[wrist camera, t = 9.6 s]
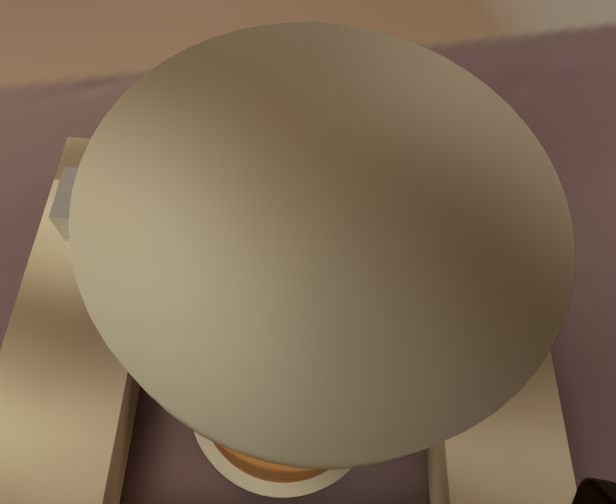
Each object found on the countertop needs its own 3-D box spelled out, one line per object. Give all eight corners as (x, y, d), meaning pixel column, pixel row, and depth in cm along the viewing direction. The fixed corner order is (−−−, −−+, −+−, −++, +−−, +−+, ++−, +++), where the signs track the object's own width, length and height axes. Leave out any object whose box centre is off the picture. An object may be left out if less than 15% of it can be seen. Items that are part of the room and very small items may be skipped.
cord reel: (324, 537, 16) (488, 591, 5) (154, 437, 17) (-57, 281, 6) (400, 361, 19) (619, 129, 8) (250, 284, 20) (242, -30, 8)
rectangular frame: (637, 1076, 12) (705, 1174, 10) (-186, 1103, 11) (-274, 1220, 9) (497, 200, 23) (517, 173, 21) (82, 167, 22) (67, 137, 20)
